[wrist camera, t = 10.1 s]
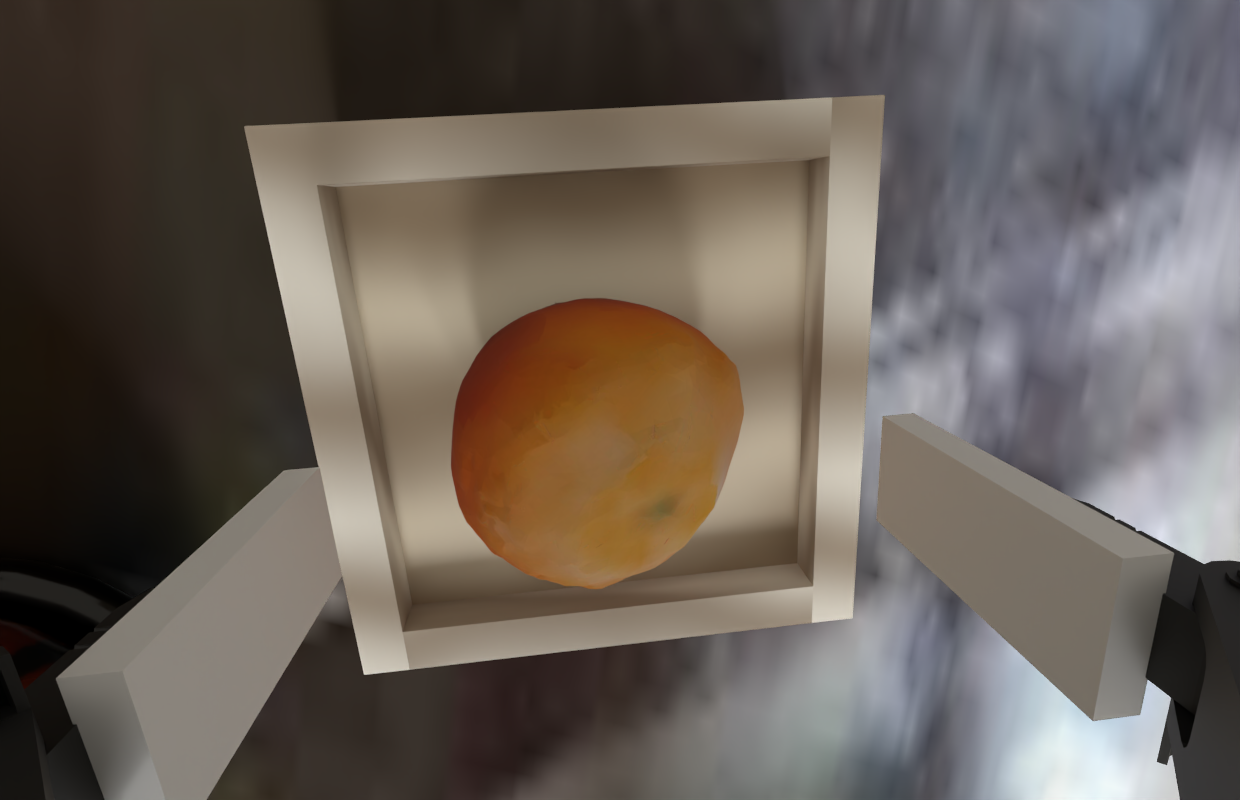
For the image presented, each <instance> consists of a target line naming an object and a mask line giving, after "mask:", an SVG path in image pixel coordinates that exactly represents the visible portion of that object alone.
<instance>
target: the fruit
mask: <svg viewBox="0 0 1240 800" xmlns="http://www.w3.org/2000/svg"><path fill="white" fill-rule="evenodd" d="M743 416H744V405H743V400H742V393H741V386H740V379H739V374H738V370H737V367H736V365H735V364H734V363H733V362H732V361H731V360H730V359H729V358H728V356H727V355H726V354H725V353H724V352H723V351H721V350H720V349H719V348H718V347H717V346H715V345H714V344H713V343H712V342H711V341H710V339H709V338H708V337H707V336H705V335H704V334H703V333H702V332H701V331H699V330H698V329H696V328H694V327H693V326H691V325H689V324H687V323H685V322H684V321H682V320H680V319H678V318H676V317H674V316H672V315H670V314H667V313H665V312H663V311H660V310H658V309H654V308H651V307H648V306H645V305H640V304H635V303H631V302H626V301H620V300H613V299H607V298H583V299H576V300H572V301H568V302H562V303H555V304H553V305H550V306H547V307H544V308H542V309H539V310H536V311H534V312H531V313H528V314H526V315H524V316H522V317H520V318H518V319H516V320H515V321H513V322H511V323H510V324H508V325H507V326H505V327H504V328H502V329H501V330H499V331H498V332H497V333H496V334H494V335H493V336H492V337H491V338H490V339H489V340H488V341H487V343H486V344H485V345H484V346H483V348H482V349H481V350H480V352H479V353H478V354H477V356H476V357H475V359H474V361H473V363H472V364H471V366H470V368H469V370H468V372H467V373H466V375H465V377H464V379H463V380H462V383H461V386H460V389H459V392H458V395H457V399H456V404H455V411H454V420H453V430H452V449H451V471H452V477H453V482H454V487H455V491H456V496H457V500H458V504H459V507H460V509H461V511H462V513H463V516H464V518H465V520H466V522H467V523H468V524H469V525H470V527H471V528H472V529H473V530H474V531H475V533H476V534H477V535H478V536H479V537H480V538H481V540H482V541H483V542H484V543H485V544H486V546H487V547H488V548H489V550H490V551H491V552H492V553H493V554H495V555H497V556H499V557H501V558H503V559H504V560H506V561H507V562H508V563H510V564H511V565H512V566H514V567H515V568H517V569H519V570H520V571H522V572H524V573H525V574H527V575H530V576H533V577H536V578H538V579H540V580H548V581H550V582H554V583H558V584H561V585H563V586H580V587H584V588H587V589H602V588H605V587H607V586H609V585H613V584H615V583H617V582H619V581H621V580H623V579H625V578H627V577H630V576H632V575H636V574H639V573H642V572H645V571H648V570H651V569H653V568H655V567H657V566H658V565H660V564H662V563H663V562H665V561H666V560H668V559H669V558H670V557H671V556H672V555H673V554H674V553H676V552H677V551H679V550H680V549H682V548H684V546H685V545H686V544H687V543H688V541H689V540H690V539H691V538H692V536H693V535H694V533H695V532H696V531H697V529H698V528H699V526H700V525H701V524H702V523H703V522H704V521H705V519H706V518H707V517H708V515H709V514H710V512H711V511H712V510H713V508H714V507H715V504H716V502H717V500H718V497H719V495H720V493H721V490H722V488H723V485H724V482H725V480H726V476H727V473H728V469H729V466H730V463H731V460H732V457H733V454H734V451H735V448H736V445H737V442H738V438H739V434H740V430H741V425H742V421H743Z"/></svg>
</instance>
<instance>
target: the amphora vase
mask: <svg viewBox="0 0 1240 800" xmlns="http://www.w3.org/2000/svg"><path fill="white" fill-rule="evenodd" d="M131 599H133V597H131V596H130V595H128V594H126V593H124V592H122V591H120V590H118V589H116V588H114V587H112V586H111V585H109V584H107V583H105V582H103V581H101V580H99V579H97V578H95V577H92V576H88V575H85V574H82V573H78V572H75V571H71V570H68V569H65V568H61V567H58V566H55V565H51V564H48V563H44V562H40V561H35V560H26V559H15V558H5V557H0V646H3V647H4V648H5V649H6V650H7V651H8V652H9V653H10V655H11V657H12V660H13V662H14V665H15V668H16V670H17V673H18V675H19V678H20V680H21V683H22V685H23V688H24V689H25V688H27V687H28V686H29V685H30V684H31V683H32V682H33V681H35V680H36V679H37V678H38V677H39V676H40V675H41V674H42V673H44V672H45V671H46V670H47V669H48V668H49V667H50V666H52V665H53V664H54V663H55V662H56V661H57V660H58V659H60V658H61V657H62V656H63V655H64V654H65V653H66V652H68V651H69V650H74V645H76V644H77V643H78V642H79V641H80V640H81V639H82V638H83V637H85V636H86V635H87V634H88V633H89V632H94V628H95V627H96V626H97V625H98V624H99V623H101V622H102V621H103V620H104V619H105V618H106V617H107V616H109V615H110V614H111V613H112V612H113V611H114V610H115V609H116V608H118V607H119V606H121V605H123V604H125V603H126V602H128V601H130V600H131Z"/></svg>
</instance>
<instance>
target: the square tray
mask: <svg viewBox="0 0 1240 800" xmlns="http://www.w3.org/2000/svg"><path fill="white" fill-rule="evenodd" d="M884 100H885V95H874V96H853V97H833V98H812V99H792V100H771V101H751V102H731V103H710V104H690V105H669V106H649V107H628V108H608V109H587V110H567V111H547V112H526V113H506V114H485V115H465V116H444V117H424V118H403V119H383V120H363V121H342V122H322V123H301V124H281V125H260V126H244V129H245V133H246V138H247V142H248V147H249V151H250V156H251V161H252V165H253V170H254V174H255V179H256V183H257V188H258V193H259V197H260V202H261V206H262V211H263V215H264V220H265V224H266V229H267V234H268V238H269V243H270V247H271V252H272V256H273V261H274V266H275V270H276V275H277V279H278V284H279V288H280V293H281V298H282V302H283V307H284V311H285V316H286V320H287V325H288V330H289V334H290V339H291V343H292V348H293V352H294V357H295V361H296V366H297V371H298V375H299V380H300V384H301V389H302V393H303V398H304V403H305V407H306V412H307V416H308V421H309V425H310V430H311V435H312V439H313V444H314V448H315V453H316V457H317V462H318V466H319V467H320V472H321V477H322V482H323V486H324V491H325V496H326V501H327V505H328V510H329V515H330V520H331V525H332V529H333V534H334V539H335V544H336V548H337V553H338V558H339V562H340V567H341V572H342V576H343V581H344V585H345V590H346V594H347V599H348V603H349V608H350V613H351V617H352V622H353V626H354V631H355V635H356V640H357V645H358V649H359V654H360V658H361V663H362V667H363V672H364V675H368V674H376V673H385V672H394V671H402V670H411V669H419V668H428V667H437V666H445V665H454V664H462V663H471V662H479V661H488V660H497V659H505V658H514V657H522V656H531V655H540V654H548V653H557V652H565V651H574V650H583V649H591V648H600V647H608V646H617V645H626V644H634V643H643V642H651V641H660V640H669V639H677V638H686V637H694V636H703V635H712V634H720V633H729V632H737V631H746V630H755V629H763V628H772V627H780V626H789V625H798V624H806V623H815V622H823V621H832V620H841V619H849V618H853V602H854V586H855V570H856V554H857V537H858V521H859V505H860V489H861V473H862V456H863V440H864V424H865V408H866V392H867V375H868V359H869V343H870V327H871V311H872V294H873V278H874V262H875V246H876V230H877V213H878V197H879V181H880V165H881V149H882V132H883V116H884ZM583 298H607V299H613V300H620V301H626V302H631V303H635V304H640V305H645V306H648V307H651V308H654V309H658V310H660V311H663V312H665V313H667V314H670V315H672V316H674V317H676V318H678V319H680V320H682V321H684V322H685V323H687V324H689V325H691V326H693V327H694V328H696V329H698V330H699V331H701V332H702V333H703V334H704V335H705V336H707V337H708V338H709V339H710V341H711V342H712V343H713V344H714V345H715V346H717V347H718V348H719V349H720V350H721V351H723V352H724V353H725V354H726V355H727V356H728V358H729V359H730V360H731V361H732V362H733V363H734V364H735V365H736V367H737V370H738V374H739V379H740V386H741V393H742V400H743V405H744V416H743V421H742V425H741V430H740V434H739V438H738V442H737V445H736V448H735V451H734V454H733V457H732V460H731V463H730V466H729V469H728V473H727V476H726V480H725V482H724V485H723V488H722V490H721V493H720V495H719V497H718V500H717V502H716V504H715V507H714V508H713V510H712V511H711V512H710V514H709V515H708V517H707V518H706V519H705V521H704V522H703V523H702V524H701V525H700V526H699V528H698V529H697V531H696V532H695V533H694V535H693V536H692V538H691V539H690V540H689V541H688V543H687V544H686V545H685V546H684V548H682V549H680V550H679V551H677V552H676V553H674V554H673V555H672V556H671V557H670V558H669V559H668V560H666V561H665V562H663V563H662V564H660V565H658V566H657V567H655V568H653V569H651V570H648V571H645V572H642V573H639V574H636V575H632V576H630V577H627V578H625V579H623V580H621V581H619V582H617V583H615V584H613V585H609V586H607V587H605V588H602V589H587V588H584V587H580V586H563V585H561V584H558V583H554V582H550V581H548V580H540V579H538V578H536V577H533V576H530V575H527V574H525V573H524V572H522V571H520V570H519V569H517V568H515V567H514V566H512V565H511V564H510V563H508V562H507V561H506V560H504V559H503V558H501V557H499V556H497V555H495V554H493V553H492V552H491V551H490V550H489V548H488V547H487V546H486V544H485V543H484V542H483V541H482V540H481V538H480V537H479V536H478V535H477V534H476V533H475V531H474V530H473V529H472V528H471V527H470V525H469V524H468V523H467V522H466V520H465V518H464V516H463V513H462V511H461V509H460V507H459V504H458V500H457V496H456V491H455V487H454V482H453V477H452V471H451V449H452V430H453V420H454V411H455V404H456V399H457V395H458V392H459V389H460V386H461V383H462V380H463V379H464V377H465V375H466V373H467V372H468V370H469V368H470V366H471V364H472V363H473V361H474V359H475V357H476V356H477V354H478V353H479V352H480V350H481V349H482V348H483V346H484V345H485V344H486V343H487V341H488V340H489V339H490V338H491V337H492V336H493V335H494V334H496V333H497V332H498V331H499V330H501V329H502V328H504V327H505V326H507V325H508V324H510V323H511V322H513V321H515V320H516V319H518V318H520V317H522V316H524V315H526V314H528V313H531V312H534V311H536V310H539V309H542V308H544V307H547V306H550V305H553V304H555V303H562V302H568V301H572V300H576V299H583Z"/></svg>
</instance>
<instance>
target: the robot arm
mask: <svg viewBox="0 0 1240 800" xmlns="http://www.w3.org/2000/svg"><path fill="white" fill-rule="evenodd" d="M877 521H878V522H879V523H880V524H881V525H882V526H883V527H885V528H886V529H887V530H888V531H889V532H890V533H891V534H892V535H893V536H894V537H895V538H896V539H897V540H899V541H900V542H901V543H902V544H903V545H904V546H905V547H906V548H907V549H908V550H909V551H910V552H911V553H913V554H914V555H915V556H916V557H917V558H918V559H919V560H920V561H921V562H922V563H923V564H924V565H925V566H927V567H928V568H929V569H930V570H931V571H932V572H933V573H934V574H935V575H936V576H937V577H938V578H939V579H941V580H942V581H943V582H944V583H945V584H946V585H947V586H948V587H949V588H950V589H951V590H952V591H953V592H955V593H956V594H957V595H958V596H959V597H960V598H961V599H962V600H963V601H964V602H965V603H966V604H967V605H969V606H970V607H971V608H972V609H973V610H974V611H975V612H976V613H977V614H978V615H979V616H980V617H981V618H983V619H984V620H985V621H986V622H987V623H988V624H989V625H990V626H991V627H992V628H993V629H994V630H995V631H997V632H998V633H999V634H1000V635H1001V636H1002V637H1003V638H1004V639H1005V640H1006V641H1007V642H1008V643H1009V644H1011V645H1012V646H1013V647H1014V648H1015V649H1016V650H1017V651H1018V652H1019V653H1020V654H1021V655H1022V656H1023V657H1025V658H1026V659H1027V660H1028V661H1029V662H1030V663H1031V664H1032V665H1033V666H1034V667H1035V668H1036V669H1037V670H1039V671H1040V672H1041V673H1042V674H1043V675H1044V676H1045V677H1046V678H1047V679H1048V680H1049V681H1050V682H1051V683H1053V684H1054V685H1055V686H1056V687H1057V688H1058V689H1059V690H1060V691H1061V692H1062V693H1063V694H1064V695H1065V696H1067V697H1068V698H1069V699H1070V700H1071V701H1072V702H1073V703H1074V704H1075V705H1076V706H1077V707H1078V708H1079V709H1081V710H1082V711H1083V712H1084V713H1085V714H1086V715H1087V716H1088V717H1089V718H1090V719H1091V720H1092V721H1097V720H1105V719H1112V718H1120V717H1127V716H1135V715H1140V713H1141V708H1142V704H1143V699H1144V694H1145V689H1146V685H1147V680H1149V681H1151V682H1152V683H1153V684H1154V685H1156V686H1157V687H1158V688H1160V689H1161V690H1162V691H1164V692H1165V693H1166V694H1167V695H1169V696H1170V697H1171V701H1170V706H1169V710H1168V715H1167V719H1166V724H1165V728H1164V732H1163V737H1162V741H1161V746H1160V750H1159V755H1158V759H1157V762H1159V763H1162V764H1165V765H1167V763H1168V760H1169V756H1171V755H1172V756H1173V762H1174V767H1175V773H1176V779H1177V784H1178V790H1179V796H1180V800H1240V562H1237V561H1211V562H1209V563H1206V564H1203V563H1201V562H1199V561H1197V560H1195V559H1193V558H1191V557H1189V556H1187V555H1185V554H1184V553H1182V552H1180V551H1178V550H1176V549H1174V548H1172V547H1170V546H1168V545H1167V544H1165V543H1163V542H1161V541H1159V540H1157V539H1155V538H1153V537H1151V536H1149V535H1148V534H1146V533H1144V532H1142V531H1136V530H1135V528H1134V527H1132V526H1131V525H1129V524H1127V523H1125V522H1123V521H1121V520H1115V518H1114V517H1113V516H1112V515H1110V514H1108V513H1106V512H1104V511H1102V510H1100V509H1098V508H1096V507H1095V506H1093V505H1091V504H1089V503H1086V502H1082V501H1079V500H1076V499H1073V498H1071V497H1069V496H1067V495H1065V494H1063V493H1061V492H1059V491H1057V490H1056V489H1054V488H1052V487H1050V486H1048V485H1046V484H1044V483H1043V482H1041V481H1039V480H1037V479H1035V478H1033V477H1031V476H1029V475H1028V474H1026V473H1024V472H1022V471H1020V470H1018V469H1016V468H1014V467H1013V466H1011V465H1009V464H1007V463H1005V462H1003V461H1001V460H999V459H998V458H996V457H994V456H992V455H990V454H988V453H986V452H985V451H983V450H981V449H979V448H977V447H975V446H973V445H971V444H970V443H968V442H966V441H964V440H962V439H960V438H958V437H956V436H955V435H953V434H951V433H949V432H947V431H945V430H943V429H942V428H940V427H938V426H936V425H934V424H932V423H930V422H928V421H927V420H925V419H923V418H921V417H919V416H917V415H915V414H913V413H912V414H901V415H890V416H883V421H882V438H881V454H880V471H879V488H878V504H877ZM341 577H342V572H341V568H340V563H339V558H338V553H337V548H336V544H335V539H334V534H333V529H332V525H331V520H330V515H329V510H328V505H327V501H326V496H325V491H324V486H323V482H322V477H321V472H320V467H315V468H304V469H293V470H284V471H283V472H282V473H281V474H280V475H278V476H277V477H276V478H275V479H274V480H273V481H272V482H271V483H270V484H269V485H267V486H266V487H265V488H264V489H263V490H262V491H261V492H260V493H259V494H258V495H256V496H255V497H254V498H253V499H252V500H251V501H250V502H249V503H248V504H247V505H246V506H244V507H243V508H242V509H241V510H240V511H239V512H238V513H237V514H236V515H235V516H233V517H232V518H231V519H230V520H229V521H228V522H227V523H226V524H225V525H224V526H222V527H221V528H220V529H219V530H218V531H217V532H216V533H215V534H214V535H213V536H212V537H210V538H209V539H208V540H207V541H206V542H205V543H204V544H203V545H202V546H201V547H199V548H198V549H197V550H196V551H195V552H194V553H193V554H192V555H191V556H190V557H188V558H187V559H186V560H185V561H184V562H183V563H182V564H181V565H180V566H179V567H177V568H176V569H175V570H174V571H173V572H172V573H171V574H170V575H169V576H168V577H167V578H165V579H164V580H163V581H162V582H161V583H160V584H159V585H158V586H157V587H156V588H152V589H149V590H147V591H145V592H144V593H142V594H140V595H138V596H137V597H135V598H133V599H131V600H130V601H128V602H126V603H125V604H123V605H121V606H119V607H118V608H116V609H115V610H114V611H113V612H112V613H111V614H110V615H109V616H107V617H106V618H105V619H104V620H103V621H102V622H101V623H99V624H98V625H97V626H96V627H95V628H94V632H89V633H88V634H87V635H86V636H85V637H83V638H82V639H81V640H80V641H79V642H78V643H77V644H76V645H74V650H69V651H68V652H66V653H65V654H64V655H63V656H62V657H61V658H60V659H58V660H57V661H56V662H55V663H54V664H53V665H52V666H50V667H49V668H48V669H47V670H46V671H45V672H44V673H42V674H41V675H40V676H39V677H38V678H37V679H36V680H35V681H33V682H32V683H31V684H30V685H29V686H28V687H27V688H25V689H24V688H23V685H22V683H21V680H20V678H19V675H18V673H17V670H16V668H15V665H14V662H13V660H12V657H11V655H10V653H9V652H8V651H7V650H6V649H5V648H4V647H3V646H0V800H207V798H208V796H209V795H210V793H211V791H212V790H213V788H214V786H215V785H216V783H217V781H218V780H219V778H220V776H221V775H222V773H223V772H224V770H225V768H226V767H227V765H228V763H229V762H230V760H231V758H232V757H233V755H234V753H235V752H236V750H237V748H238V747H239V745H240V743H241V742H242V740H243V738H244V737H245V735H246V734H247V732H248V730H249V729H250V727H251V725H252V724H253V722H254V720H255V719H256V717H257V715H258V714H259V712H260V710H261V709H262V707H263V705H264V704H265V702H266V701H267V699H268V697H269V696H270V694H271V692H272V691H273V689H274V687H275V686H276V684H277V682H278V681H279V679H280V677H281V676H282V674H283V672H284V671H285V669H286V667H287V666H288V664H289V663H290V661H291V659H292V658H293V656H294V654H295V653H296V651H297V649H298V648H299V646H300V644H301V643H302V641H303V639H304V638H305V636H306V634H307V633H308V631H309V630H310V628H311V626H312V625H313V623H314V621H315V620H316V618H317V616H318V615H319V613H320V611H321V610H322V608H323V606H324V605H325V603H326V601H327V600H328V598H329V596H330V595H331V593H332V592H333V590H334V588H335V587H336V585H337V583H338V582H339V580H340V578H341Z"/></svg>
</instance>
